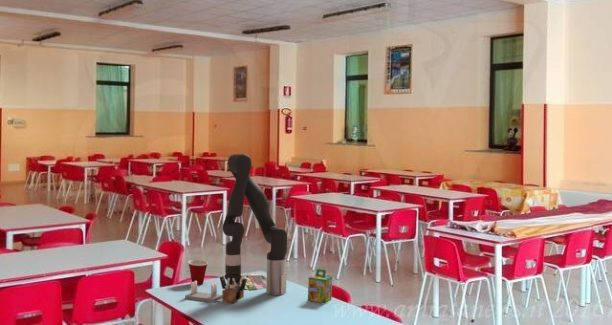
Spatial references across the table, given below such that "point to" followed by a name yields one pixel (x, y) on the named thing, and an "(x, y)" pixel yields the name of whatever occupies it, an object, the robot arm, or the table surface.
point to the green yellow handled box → (320, 287)
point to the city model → (254, 281)
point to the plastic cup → (198, 270)
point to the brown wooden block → (231, 295)
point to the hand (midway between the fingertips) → (233, 298)
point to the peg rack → (203, 296)
